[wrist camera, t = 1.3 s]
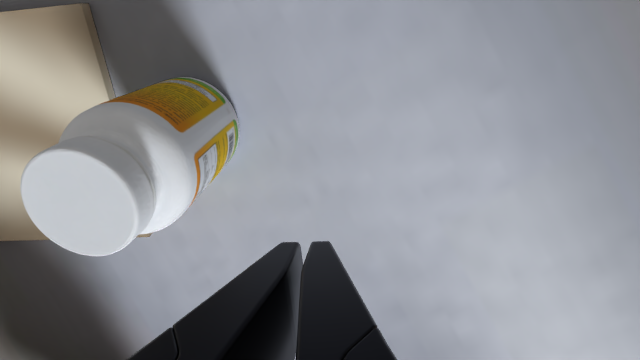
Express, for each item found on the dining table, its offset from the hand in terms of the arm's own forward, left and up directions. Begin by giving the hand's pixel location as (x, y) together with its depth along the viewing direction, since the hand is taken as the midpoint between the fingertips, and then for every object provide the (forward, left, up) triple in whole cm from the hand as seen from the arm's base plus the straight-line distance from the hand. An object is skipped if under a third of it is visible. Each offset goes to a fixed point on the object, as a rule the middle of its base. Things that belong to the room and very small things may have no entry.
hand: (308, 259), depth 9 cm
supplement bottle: (0, +8, -13) cm, 15 cm away
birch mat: (0, +18, -13) cm, 22 cm away
